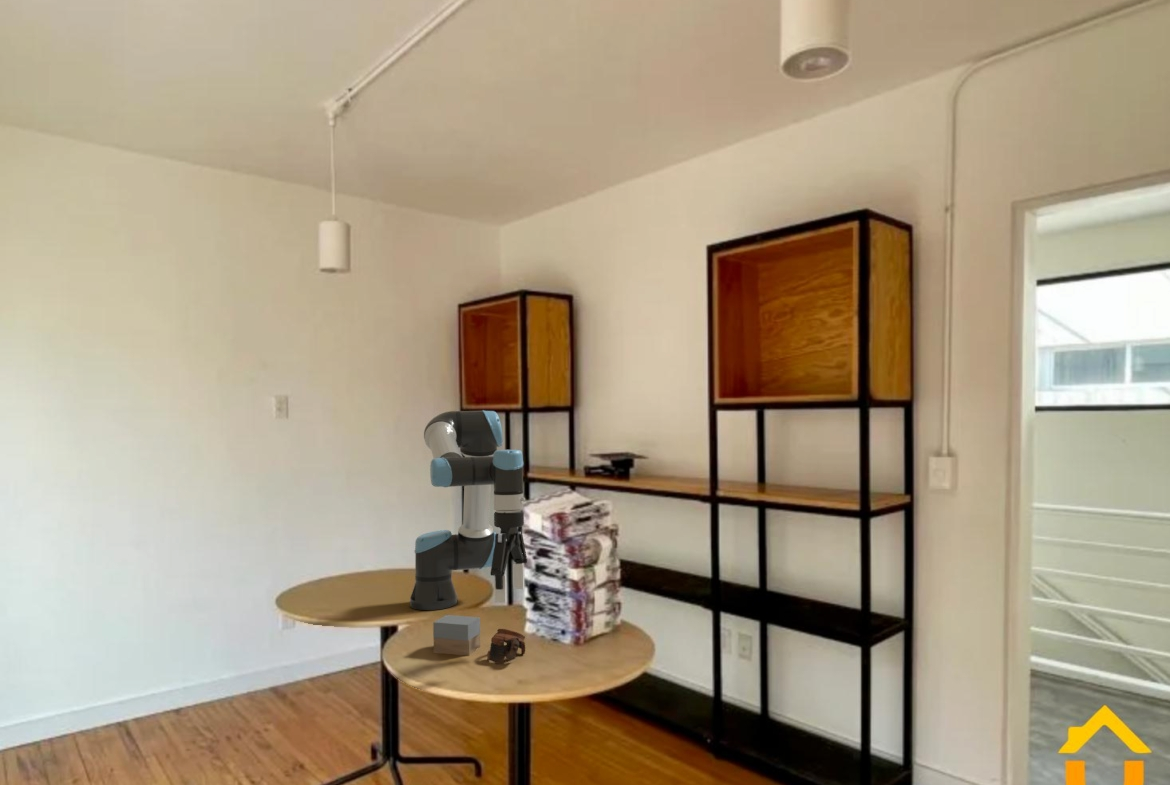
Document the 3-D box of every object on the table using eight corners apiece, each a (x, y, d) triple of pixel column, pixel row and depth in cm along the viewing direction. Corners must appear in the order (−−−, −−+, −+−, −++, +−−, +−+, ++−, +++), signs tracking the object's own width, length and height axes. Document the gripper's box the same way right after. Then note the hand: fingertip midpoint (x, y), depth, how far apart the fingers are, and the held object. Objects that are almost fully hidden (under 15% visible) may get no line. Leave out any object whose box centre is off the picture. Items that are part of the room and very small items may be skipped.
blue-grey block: (446, 629, 186) (446, 614, 186) (480, 632, 183) (480, 617, 183) (433, 637, 179) (433, 622, 180) (468, 640, 176) (467, 625, 176)
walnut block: (445, 645, 186) (445, 630, 186) (480, 647, 183) (480, 632, 183) (433, 653, 179) (433, 638, 179) (469, 656, 176) (469, 640, 177)
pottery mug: (478, 659, 175) (489, 626, 179) (510, 670, 178) (520, 638, 182) (497, 660, 165) (508, 625, 169) (531, 672, 168) (540, 638, 172)
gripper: (506, 517, 162) (507, 609, 161) (537, 504, 186) (538, 584, 185) (476, 517, 164) (477, 607, 163) (511, 504, 188) (512, 583, 187)
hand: (510, 595), depth 174 cm, fingers open, 13 cm apart
